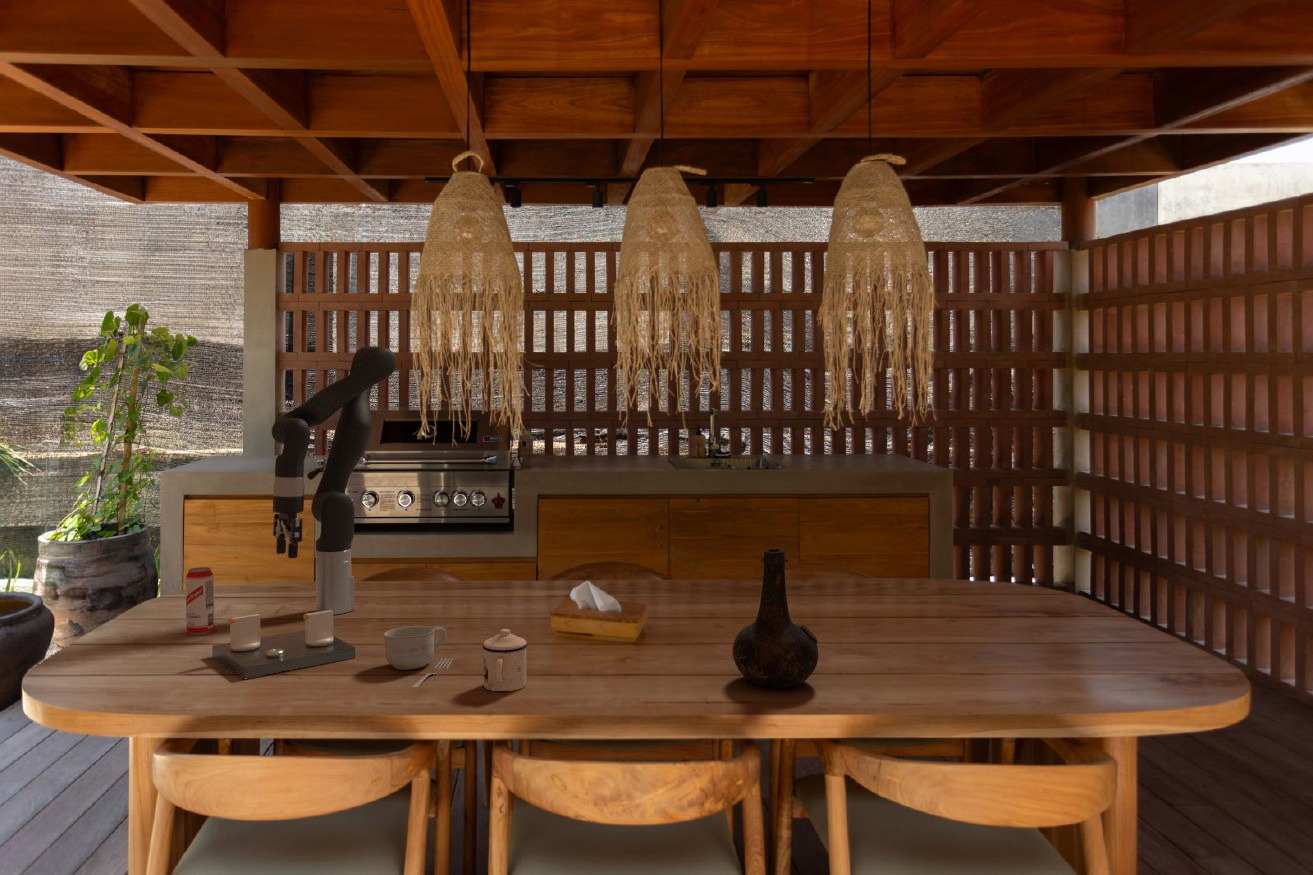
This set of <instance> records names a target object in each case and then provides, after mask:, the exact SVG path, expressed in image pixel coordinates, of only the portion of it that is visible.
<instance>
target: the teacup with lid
mask: <svg viewBox="0 0 1313 875" xmlns="http://www.w3.org/2000/svg"><path fill="white" fill-rule="evenodd" d="M527 646H528V643H527V640H526V639H525V638H523V637H519V636H517V635H515V634H513V633H511V630H510V629H509V628H502V629H500V632H499V633H498V634H496V635H494V636H493V637H490V638H488V639H486V640H484V642H483V644H482V649H483V686H484V688H485V689H486V690H487V691H490V690H491V692H495V691H510V692H514V690H515V691H519V690H521V689H523V688H524V687H526V686H527V685H526V684H527ZM518 689H519V690H518Z"/></svg>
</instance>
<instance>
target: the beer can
mask: <svg viewBox="0 0 1313 875" xmlns="http://www.w3.org/2000/svg"><path fill="white" fill-rule="evenodd" d="M214 576H215V575H214V573H213V571H212V567H207V566H205V567H203V566H202V567H200V566H199V567H193V568H192V567H191V568H189V569H188V570H187V574H186V575H185V614H186V615H185V618H186V622H185V623H186V624H185V625H186V626H185V628H186V632H187V633H188V634H189V635H190V636H203V635H208V634H211V633H212V632H213V631H214V630H215V627H216V625H215V579H214V578H215V577H214Z"/></svg>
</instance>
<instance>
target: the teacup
mask: <svg viewBox="0 0 1313 875" xmlns="http://www.w3.org/2000/svg"><path fill="white" fill-rule="evenodd" d="M437 632H440V633H441V634H440V635H441V637H440V638H439V640H438V642H437V643H435V635H436V634H437ZM447 636H448V634H447V631H446V629H445V628H444V627H441V626H436V627H434V628H433V627H432V626H424V625H417V626H414V625H413V626H404V627H400V628H399V627H398V628H393V629H390V630H388V631H385V632H384V634H383V637H384V650H385V651H384V652H385V654H384V655H385V658H386V661H387V662H388V664H389V665H391V666H392V667H393V668H395V669H397V670H414V669H415V670H416V669H419V668H422V667H425V666H426V665H427V664H428V663H429V661H431V660H432V659H433V657H434V654H435V652H436V651H437V650H438V649H439V648H441V646H442V645H443V644H444V643H445V642H446V640H447Z"/></svg>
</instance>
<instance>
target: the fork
mask: <svg viewBox="0 0 1313 875" xmlns="http://www.w3.org/2000/svg"><path fill="white" fill-rule="evenodd" d="M452 661H453V658H449V657H448V659H447V657H445V659H444V657H442V658H441V659H440V661H439V662H438V663H437V664H436V665H435V667H434V668H436V669H438V668H440V669H442V668H444V669H446V668H447V669H448V668H449V667H450V664H451V663H452ZM432 674H433V676H434V675H435V674H436V673H435V672H434V673H431V672H428V673H426V674H425V675H424V676H423V677H422V678H420V679H419V680H418V681H417V682H415V683H414V684H413V685H411V686H410V687H417V688H419V687H420V685H421V684H422V683H423V682H424V681H425V680H426V679H427V678H428V677H429V676H430V675H432Z"/></svg>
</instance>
